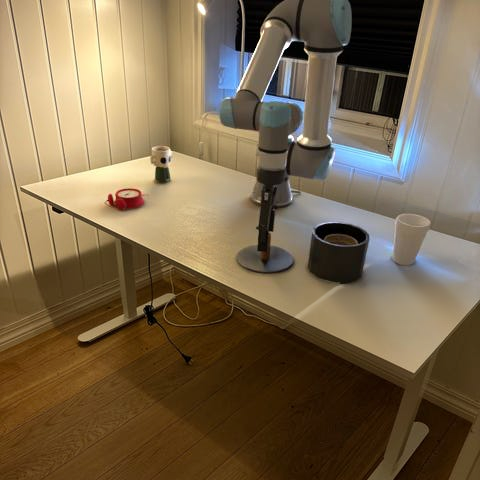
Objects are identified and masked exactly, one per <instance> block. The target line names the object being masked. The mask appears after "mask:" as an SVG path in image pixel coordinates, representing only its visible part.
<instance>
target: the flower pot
mask: <svg viewBox="0 0 480 480" xmlns="http://www.w3.org/2000/svg"><path fill="white" fill-rule="evenodd" d="M324 241H326V242H329V243H331V244H336V245H357V244H358V242H357V241H356V240H355V239H354V238H352V237H350V236H347V235H342V234H332V235H328V236H326V237H325V238H324Z"/></svg>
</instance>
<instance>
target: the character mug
mask: <svg viewBox="0 0 480 480" xmlns="http://www.w3.org/2000/svg"><path fill="white" fill-rule="evenodd" d="M149 159H150V164H151V165H153V166H154V167H155V171H154V181H155V182H158V183H162V184H165V183H168V182H170V181H171V174H170V168H169V167H170V166H171V164H172V160H173V151H172V150H171V148H170V147H169V146H166V145H157V146H153V147H151V155H150V158H149Z"/></svg>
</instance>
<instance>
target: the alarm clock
mask: <svg viewBox="0 0 480 480" xmlns="http://www.w3.org/2000/svg"><path fill="white" fill-rule="evenodd" d="M114 193H115V194H114V196H115V200H114V196H113V194H112V193H109V194H108V195H107V199H106V201H105V202H104V205H106V206H108V207H115V208H116V209H117V210H119V211H125V210H126V209H131V210H132V209H136V208H140V207H142V206H144V204H145V199H144V198H143V197H144V196H145V194H143V193H142V191H141V190H140V189H137V188H130V187H129V188H128V187H127V188H122V189H121V188H120V189H119V190H117V191H115V192H114ZM146 196H149V194H148V193H147V194H146Z"/></svg>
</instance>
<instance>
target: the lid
mask: <svg viewBox="0 0 480 480" xmlns="http://www.w3.org/2000/svg"><path fill="white" fill-rule="evenodd" d="M271 244H272V232H269V236H268V248H267V252H262V251H257V247H258V244H254V245H253V244H252V245H248V246H245V247H243V248H241V249H240V250H238V251H237V253H236V256H235V260H236V262H237V264H238V265H239V266H240V267H241V268H243V269H245V270H247V271H249V272H253V273H256V274H277V273H282V272H285V271H287V270H289V269H290V268H291V267H292V266H293V264H294V256H293V255H292V254H291V253H290V251H288V250H286V249H284V248H282V247H279V246H276V245H271Z"/></svg>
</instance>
